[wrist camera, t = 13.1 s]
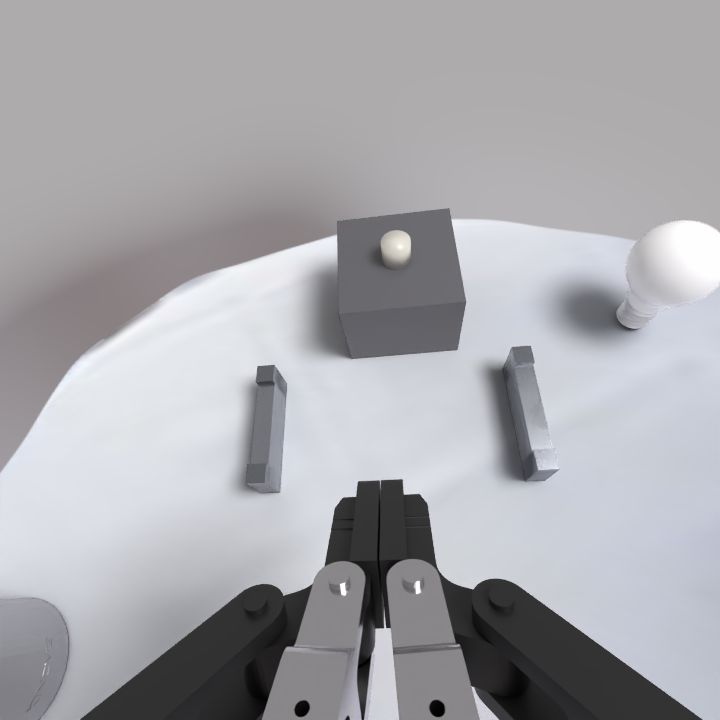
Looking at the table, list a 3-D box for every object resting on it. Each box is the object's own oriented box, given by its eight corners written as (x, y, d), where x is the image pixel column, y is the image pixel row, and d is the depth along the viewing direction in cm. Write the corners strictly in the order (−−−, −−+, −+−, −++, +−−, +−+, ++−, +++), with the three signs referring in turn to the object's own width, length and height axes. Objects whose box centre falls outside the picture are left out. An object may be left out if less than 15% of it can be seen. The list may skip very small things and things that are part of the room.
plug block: (351, 359, 41) (333, 299, 32) (349, 276, 45) (333, 203, 36) (457, 350, 40) (468, 285, 31) (444, 267, 44) (450, 190, 36)
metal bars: (262, 493, 36) (245, 483, 32) (271, 384, 40) (257, 366, 37) (544, 480, 33) (559, 469, 30) (520, 367, 38) (530, 345, 34)
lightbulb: (677, 349, 37) (770, 267, 27) (600, 351, 38) (664, 273, 28) (656, 290, 40) (732, 197, 30) (585, 293, 41) (637, 204, 31)
